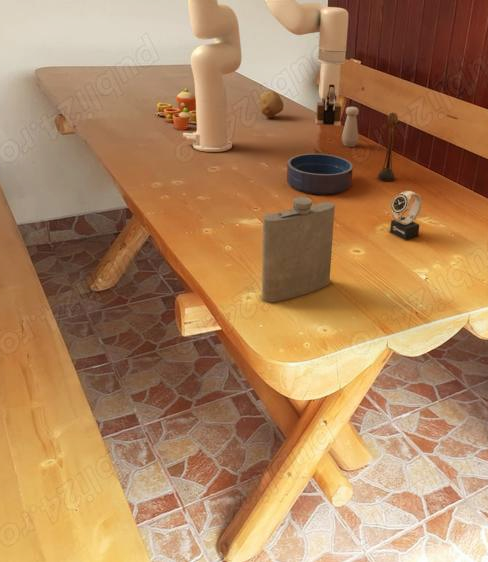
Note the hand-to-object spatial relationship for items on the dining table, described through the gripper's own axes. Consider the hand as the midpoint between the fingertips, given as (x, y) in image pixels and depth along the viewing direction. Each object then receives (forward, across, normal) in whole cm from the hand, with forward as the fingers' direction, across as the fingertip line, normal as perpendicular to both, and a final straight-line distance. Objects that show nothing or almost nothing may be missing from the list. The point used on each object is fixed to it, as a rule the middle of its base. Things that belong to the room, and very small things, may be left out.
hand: (327, 121), depth 185 cm
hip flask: (+16, +70, -11) cm, 73 cm away
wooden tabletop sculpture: (+16, +3, +19) cm, 25 cm away
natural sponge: (+16, -62, -16) cm, 66 cm away
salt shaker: (+16, -30, +11) cm, 36 cm away
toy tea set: (+17, -53, -47) cm, 73 cm away
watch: (+16, +42, +16) cm, 48 cm away
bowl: (+16, +8, -2) cm, 18 cm away
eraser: (+1, 0, 0) cm, 1 cm away
